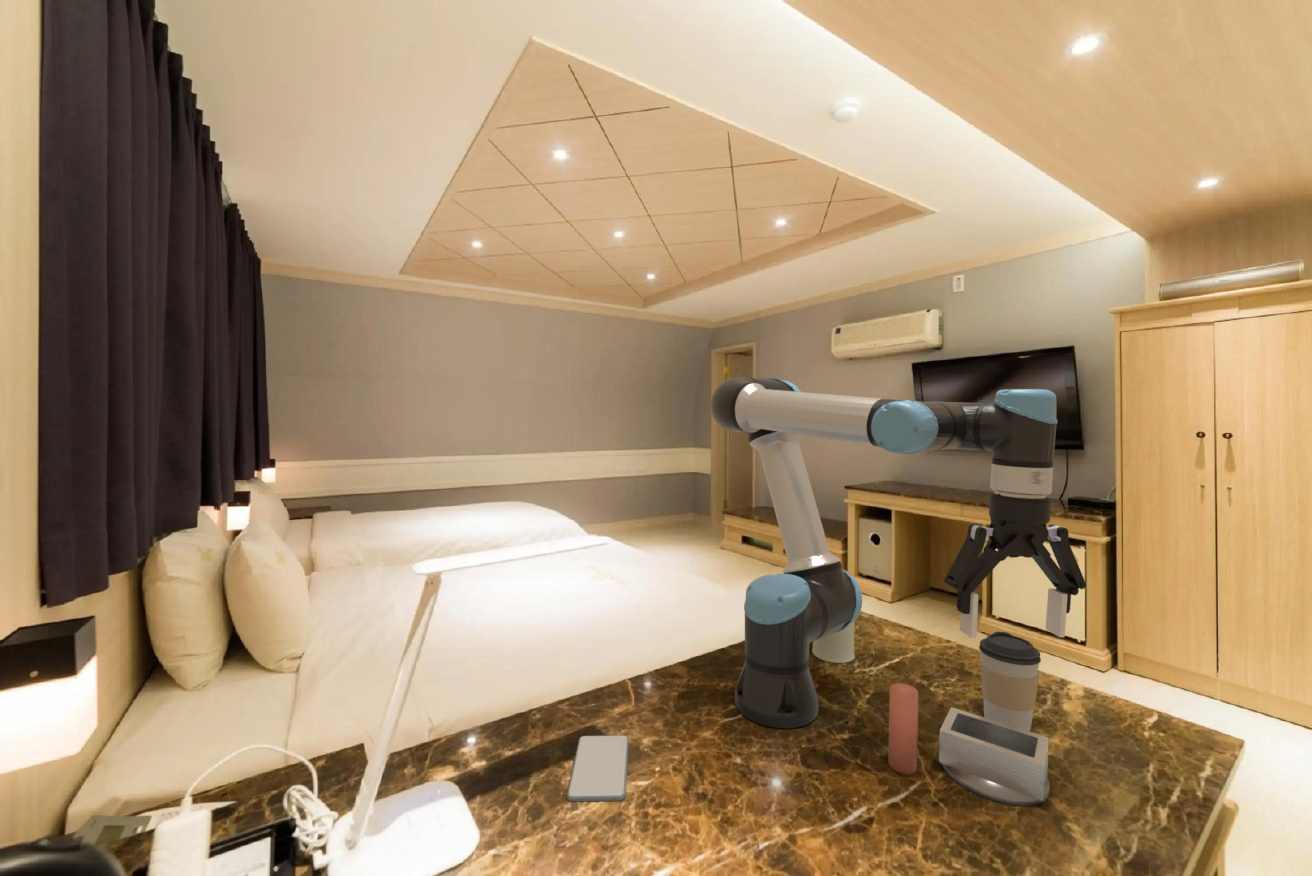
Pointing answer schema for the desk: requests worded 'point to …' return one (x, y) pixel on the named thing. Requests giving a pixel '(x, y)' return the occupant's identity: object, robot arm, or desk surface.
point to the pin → (903, 728)
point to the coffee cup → (1009, 679)
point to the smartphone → (599, 769)
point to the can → (836, 646)
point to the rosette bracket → (995, 759)
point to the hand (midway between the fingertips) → (1011, 634)
